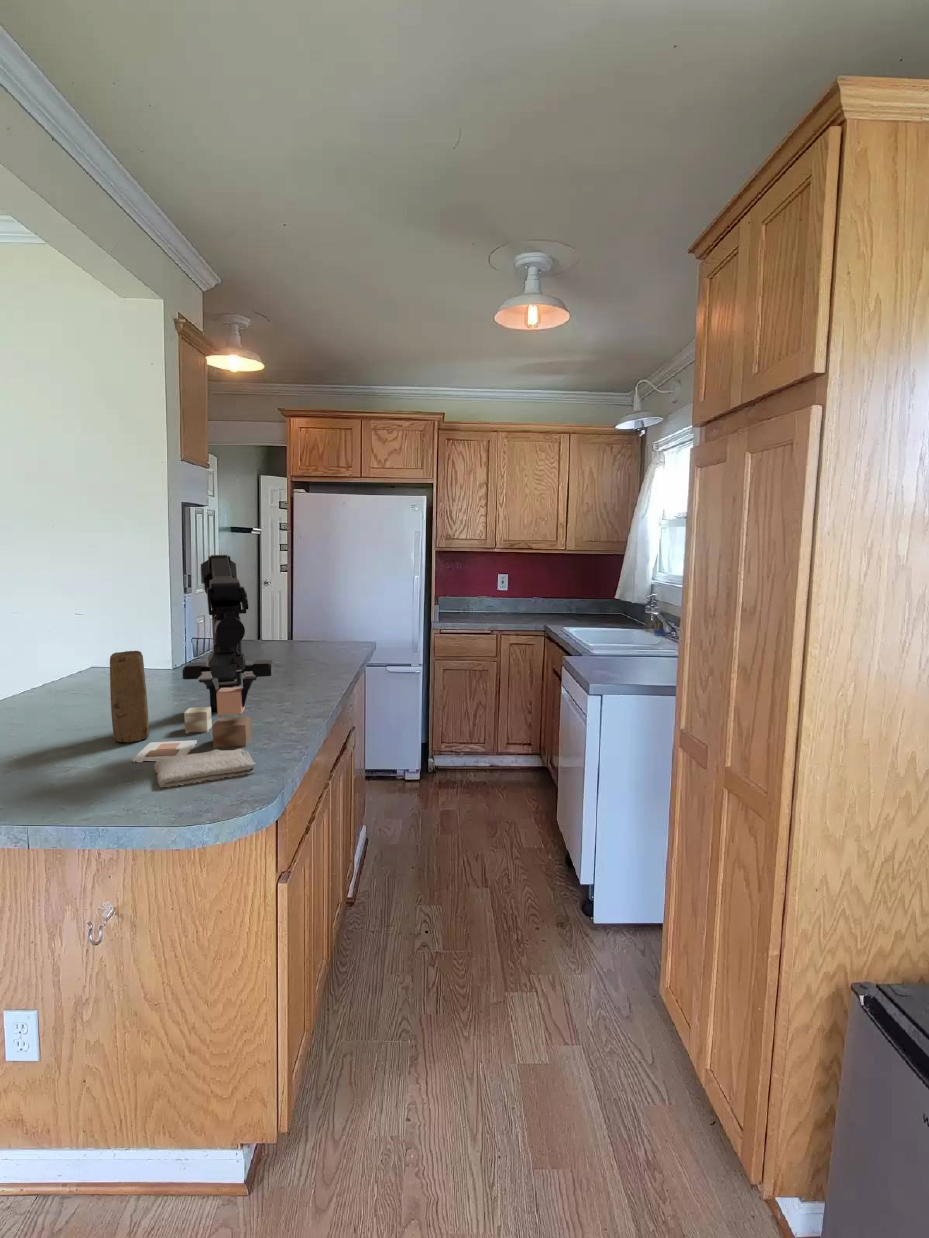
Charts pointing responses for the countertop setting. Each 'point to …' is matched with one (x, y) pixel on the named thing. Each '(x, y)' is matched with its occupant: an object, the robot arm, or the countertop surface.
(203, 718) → the ash cube
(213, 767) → the washcloth
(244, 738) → the walnut block
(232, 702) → the terracotta cube
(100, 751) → the countertop surface
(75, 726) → the countertop surface
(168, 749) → the card
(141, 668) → the block
